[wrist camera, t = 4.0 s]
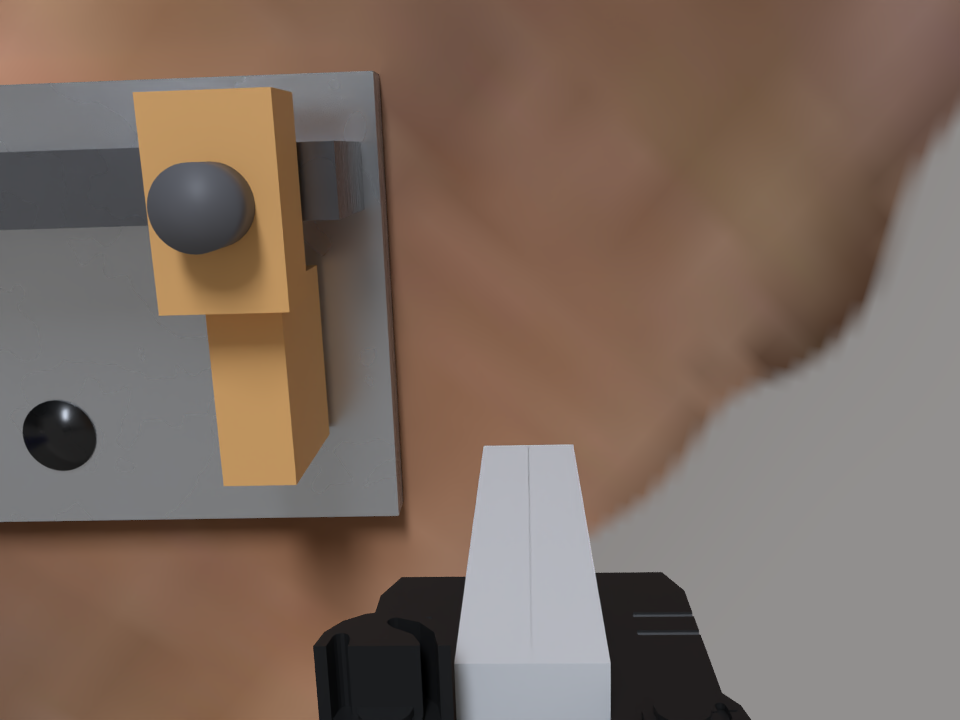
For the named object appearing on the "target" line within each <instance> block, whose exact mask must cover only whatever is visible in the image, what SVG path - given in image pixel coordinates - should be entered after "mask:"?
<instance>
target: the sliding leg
mask: <svg viewBox="0 0 960 720" xmlns="http://www.w3.org/2000/svg"><path fill="white" fill-rule="evenodd" d="M132 93H133V101H134V110H135V118H136V126H137V135H138V143H139V152H140V160H141V169H142V177H143V185H144V194H145V202H146V211H147V219H148V228H149V236H150V244H151V253H152V261H153V270H154V278H155V287H156V295H157V304H158V312H159V316H168V315H206V324H207V334H208V343H209V353H210V362H211V371H212V381H213V390H214V400H215V409H216V418H217V428H218V437H219V447H220V456H221V466H222V475H223V484H224V486H267V485H297V484H298V482H299V481H300V479H301V477H302V476H303V474H304V473H305V471H306V470H307V468H308V467H309V465H310V464H311V462H312V460H313V459H314V457H315V456H316V454H317V453H318V451H319V450H320V448H321V447H322V445H323V444H324V442H325V440H326V439H327V437H328V436H329V434H330V432H329V419H328V406H327V392H326V379H325V366H324V353H323V340H322V326H321V313H320V300H319V287H318V274H317V265H306V262H305V250H304V237H303V224H302V211H301V199H300V186H299V173H298V161H297V148H296V135H295V123H294V110H293V97H292V92H289V91H285V90H281V89H277V88H273V87H256V88H229V89H203V90H176V91H150V92H132Z"/></svg>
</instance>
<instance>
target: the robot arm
mask: <svg viewBox="0 0 960 720" xmlns="http://www.w3.org/2000/svg"><path fill="white" fill-rule="evenodd" d="M313 649H314V661H315V673H316V685H317V697H318V709H319V720H751V719H750V717H749V716H748V715H747V713H746V712H745V711H744V710H743V708H742V706H741V705H739V704H738V703H736V702H735V701H733V700H732V699H730V698H729V697H727V696H725V695H724V694H723V693H722V692H721V690H720V686H719V684H718V681H717V678H716V675H715V673H714V670H713V667H712V665H711V662H710V659H709V657H708V654H707V651H706V649H705V646H704V643H703V641H702V638H701V635H699V629H698V627H697V624H696V621H695V619H694V617H693V616H692V610H691V608H690V605H689V602H688V600H687V597H686V594H685V591H684V590H683V589H682V588H680V587H679V586H678V585H677V584H675V583H674V582H673V581H672V580H671V579H669V578H668V577H667V576H666V575H664V574H663V573H661V572H646V573H645V572H644V573H595V569H594V563H593V558H592V552H591V546H590V540H589V534H588V528H587V523H586V517H585V511H584V505H583V499H582V493H581V488H580V482H579V476H578V470H577V464H576V459H575V453H574V447H573V445H513V446H484V448H483V455H482V462H481V470H480V477H479V485H478V492H477V499H476V507H475V514H474V521H473V529H472V536H471V544H470V551H469V558H468V566H467V573H466V577H402V578H400V579H399V580H398V581H397V582H396V583H395V584H394V585H392V586H391V587H390V588H389V589H388V590H387V591H386V592H385V593H383V594H382V595H381V597H380V600H379V603H378V606H377V609H376V612H375V613H370V614H364V615H361V616H358V617H355V618H351V619H348V620H345V621H342V622H341V623H339V624H337V625H336V626H334V627H332V628H331V629H329V630H327V631H326V632H324V633H323V635H322V636H321V637H320V638H319V640H318V641H317V642H316V643H315V645H314V646H313Z"/></svg>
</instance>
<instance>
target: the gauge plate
mask: <svg viewBox="0 0 960 720" xmlns="http://www.w3.org/2000/svg"><path fill="white" fill-rule="evenodd" d="M256 87H273V88H277V89H281V90H285V91H289V92H292V97H293V110H294V123H295V135H296V148H297V161H298V173H299V186H300V199H301V211H302V224H303V237H304V250H305V262H306V265H317V274H318V287H319V300H320V313H321V326H322V340H323V353H324V366H325V379H326V392H327V406H328V419H329V432H330V434H329V436H328V437H327V439H326V440H325V442H324V444H323V445H322V447H321V448H320V450H319V451H318V453H317V454H316V456H315V457H314V459H313V460H312V462H311V464H310V465H309V467H308V468H307V470H306V471H305V473H304V474H303V476H302V477H301V479H300V481H299V482H298V484H297V485H267V486H224V484H223V475H222V466H221V456H220V447H219V437H218V428H217V418H216V409H215V400H214V390H213V381H212V371H211V362H210V353H209V343H208V334H207V324H206V315H168V316H159V312H158V304H157V295H156V287H155V278H154V270H153V261H152V253H151V244H150V236H149V228H148V219H147V211H146V202H145V194H144V185H143V177H142V169H141V160H140V152H139V143H138V135H137V126H136V118H135V110H134V101H133V93H132V92H150V91H176V90H203V89H229V88H256ZM402 504H403V488H402V470H401V453H400V435H399V418H398V400H397V382H396V365H395V347H394V329H393V312H392V294H391V277H390V259H389V241H388V224H387V206H386V189H385V171H384V153H383V136H382V118H381V100H380V83H379V74H378V73H376V72H374V71H360V72H334V73H307V74H281V75H255V76H229V77H203V78H177V79H151V80H125V81H98V82H72V83H46V84H20V85H0V522H26V521H91V520H156V519H221V518H286V517H351V516H399V514H400V510H401V507H402Z"/></svg>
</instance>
